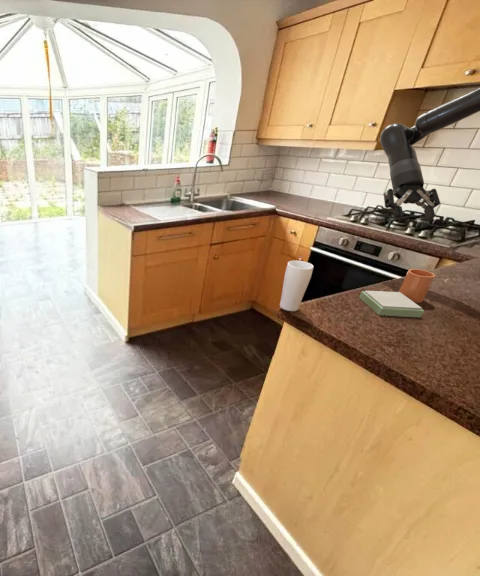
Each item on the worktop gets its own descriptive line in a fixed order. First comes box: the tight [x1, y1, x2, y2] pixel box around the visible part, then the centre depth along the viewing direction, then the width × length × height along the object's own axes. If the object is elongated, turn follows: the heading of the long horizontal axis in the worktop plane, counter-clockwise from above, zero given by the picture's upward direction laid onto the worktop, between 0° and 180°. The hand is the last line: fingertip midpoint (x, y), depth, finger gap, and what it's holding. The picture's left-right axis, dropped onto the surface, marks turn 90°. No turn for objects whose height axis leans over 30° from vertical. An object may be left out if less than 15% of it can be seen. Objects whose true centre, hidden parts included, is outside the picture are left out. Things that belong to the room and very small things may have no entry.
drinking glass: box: [279, 260, 314, 312], centre depth 98 cm, size 7×7×15 cm
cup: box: [398, 268, 436, 304], centre depth 103 cm, size 6×6×9 cm
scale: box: [358, 290, 425, 318], centre depth 100 cm, size 11×11×3 cm
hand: (414, 218), depth 104 cm, fingers open, 8 cm apart
